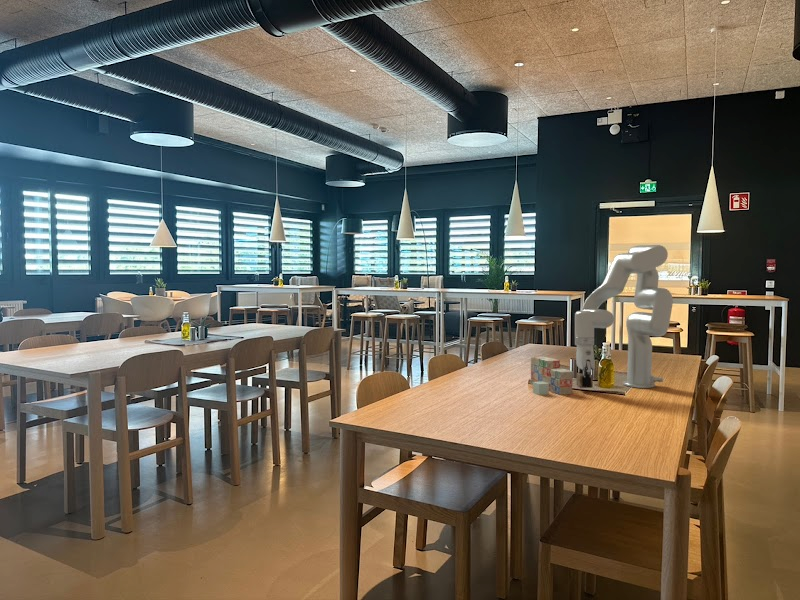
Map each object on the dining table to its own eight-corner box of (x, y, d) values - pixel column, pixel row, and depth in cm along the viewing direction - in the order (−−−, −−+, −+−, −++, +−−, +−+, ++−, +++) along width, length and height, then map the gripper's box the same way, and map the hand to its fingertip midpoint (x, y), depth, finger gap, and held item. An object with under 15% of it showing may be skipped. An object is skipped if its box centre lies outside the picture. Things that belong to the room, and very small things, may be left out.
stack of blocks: (572, 394, 226) (573, 363, 225) (559, 395, 223) (560, 364, 223) (542, 383, 246) (543, 355, 245) (530, 384, 244) (530, 356, 243)
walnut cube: (588, 384, 233) (588, 372, 232) (592, 387, 228) (592, 375, 227) (576, 385, 233) (576, 373, 232) (580, 387, 228) (580, 375, 228)
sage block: (542, 392, 228) (542, 381, 228) (548, 394, 224) (548, 383, 224) (532, 393, 227) (532, 382, 227) (538, 395, 223) (539, 384, 222)
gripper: (600, 344, 220) (600, 390, 222) (587, 338, 237) (587, 380, 239) (581, 344, 221) (581, 390, 222) (569, 338, 238) (569, 381, 239)
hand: (584, 385), depth 230 cm, fingers closed on walnut cube, 5 cm apart
